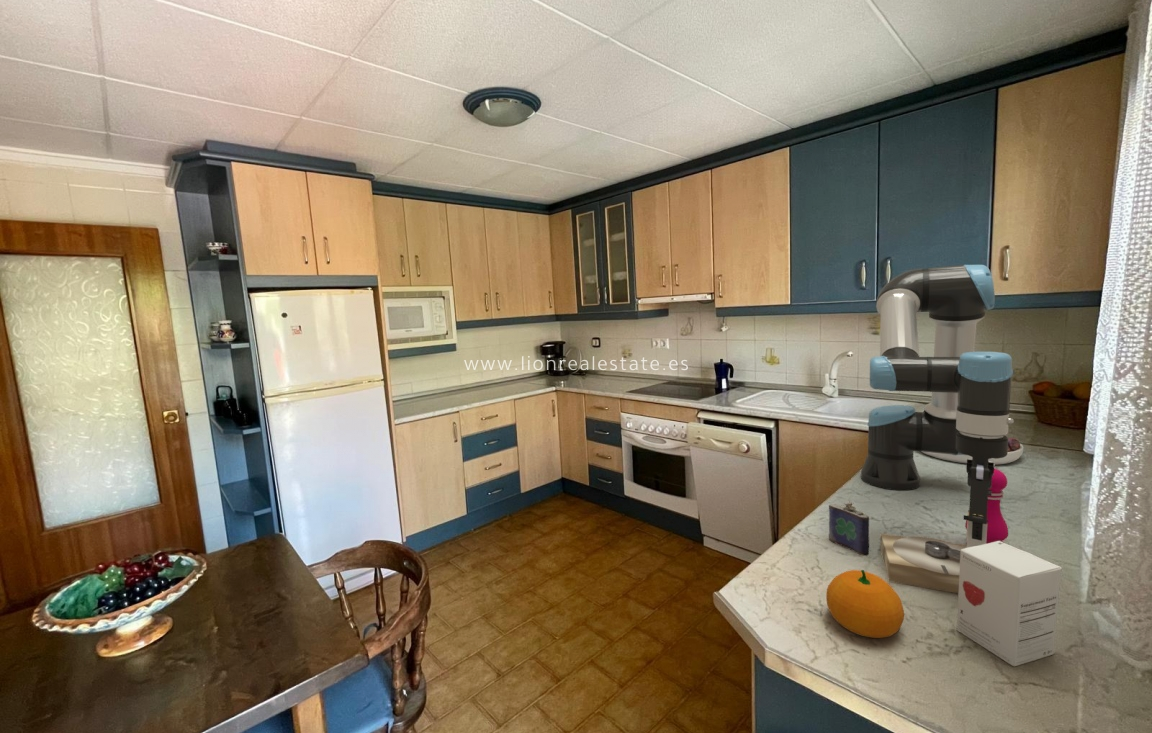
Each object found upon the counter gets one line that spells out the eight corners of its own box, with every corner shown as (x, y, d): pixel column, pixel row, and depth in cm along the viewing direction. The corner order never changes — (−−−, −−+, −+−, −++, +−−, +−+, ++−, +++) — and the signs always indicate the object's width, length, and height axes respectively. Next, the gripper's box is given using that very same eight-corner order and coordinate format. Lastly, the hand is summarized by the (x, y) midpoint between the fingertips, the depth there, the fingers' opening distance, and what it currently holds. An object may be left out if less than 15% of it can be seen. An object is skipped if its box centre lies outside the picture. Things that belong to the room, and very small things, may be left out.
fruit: (813, 621, 84) (813, 569, 83) (845, 595, 91) (845, 547, 90) (885, 658, 75) (886, 600, 74) (915, 626, 81) (916, 573, 80)
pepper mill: (1015, 556, 100) (1020, 467, 98) (977, 554, 102) (981, 466, 99) (993, 539, 107) (997, 456, 105) (957, 538, 109) (960, 456, 107)
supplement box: (953, 629, 80) (957, 547, 78) (994, 619, 82) (998, 538, 80) (1013, 668, 71) (1019, 577, 70) (1057, 655, 73) (1064, 566, 71)
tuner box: (879, 548, 107) (880, 530, 106) (980, 562, 99) (981, 544, 98) (890, 584, 94) (890, 564, 93) (1007, 604, 86) (1008, 582, 85)
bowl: (901, 456, 166) (902, 435, 165) (922, 437, 186) (922, 418, 185) (1017, 475, 144) (1018, 450, 143) (1026, 451, 163) (1027, 429, 162)
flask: (826, 539, 112) (826, 497, 111) (834, 536, 113) (834, 494, 112) (864, 557, 104) (865, 511, 102) (872, 553, 105) (873, 508, 104)
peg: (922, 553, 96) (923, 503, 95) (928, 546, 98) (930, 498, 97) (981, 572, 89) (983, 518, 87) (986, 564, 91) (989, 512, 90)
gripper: (1010, 454, 77) (1004, 574, 79) (1006, 421, 95) (1001, 519, 98) (952, 447, 82) (948, 561, 84) (959, 417, 100) (955, 511, 103)
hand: (976, 539), depth 91 cm, fingers open, 13 cm apart
